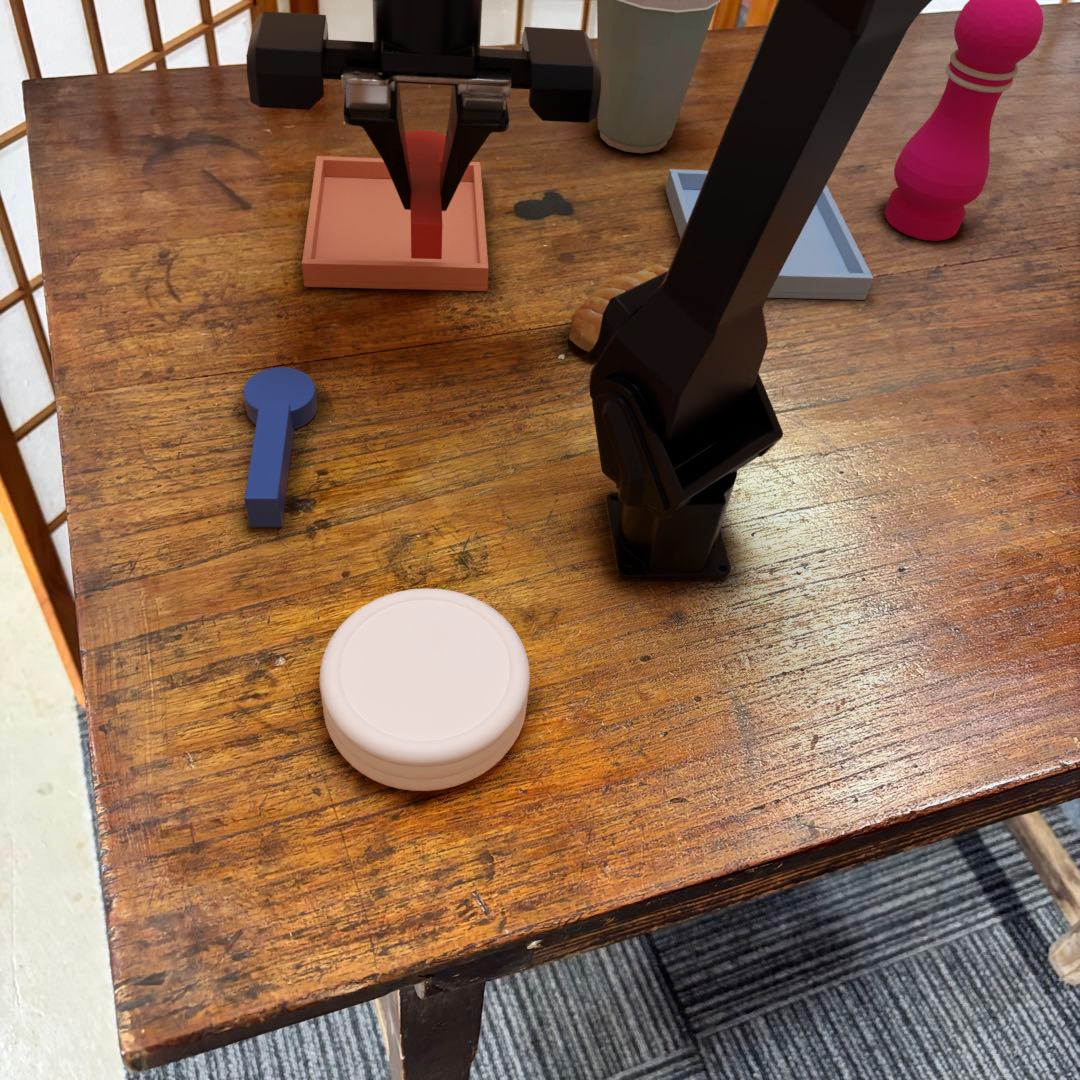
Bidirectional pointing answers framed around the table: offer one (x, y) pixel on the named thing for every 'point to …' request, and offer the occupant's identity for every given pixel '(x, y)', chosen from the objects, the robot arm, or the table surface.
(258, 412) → the blue spoon
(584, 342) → the pastry
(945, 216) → the pepper mill
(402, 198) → the robot arm
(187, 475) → the table surface
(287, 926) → the table surface
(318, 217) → the red tray
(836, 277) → the blue tray
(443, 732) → the white round tin
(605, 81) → the disposable coffee cup
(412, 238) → the red spoon
